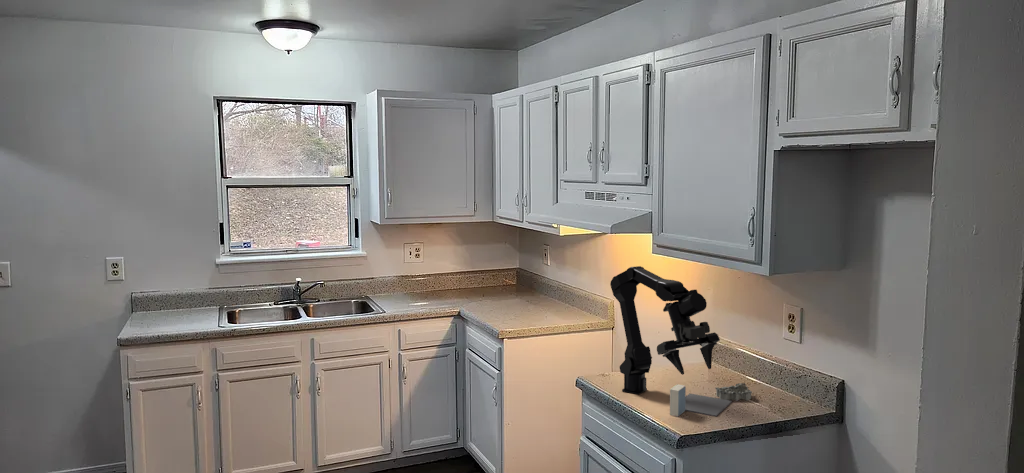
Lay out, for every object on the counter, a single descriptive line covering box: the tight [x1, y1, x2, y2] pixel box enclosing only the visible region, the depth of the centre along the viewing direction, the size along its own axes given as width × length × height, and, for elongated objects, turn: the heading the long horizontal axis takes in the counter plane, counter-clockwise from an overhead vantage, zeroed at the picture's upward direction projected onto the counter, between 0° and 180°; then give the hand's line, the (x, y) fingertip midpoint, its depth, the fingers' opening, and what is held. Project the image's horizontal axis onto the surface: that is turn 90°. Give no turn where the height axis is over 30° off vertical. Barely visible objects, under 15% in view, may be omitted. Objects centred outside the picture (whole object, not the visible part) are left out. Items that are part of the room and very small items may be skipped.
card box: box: [669, 383, 687, 417], centre depth 216 cm, size 3×6×8 cm, turn 146°
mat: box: [684, 393, 733, 417], centre depth 224 cm, size 14×16×1 cm
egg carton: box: [714, 382, 753, 402], centre depth 231 cm, size 11×8×4 cm
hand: (696, 371), depth 210 cm, fingers open, 9 cm apart
